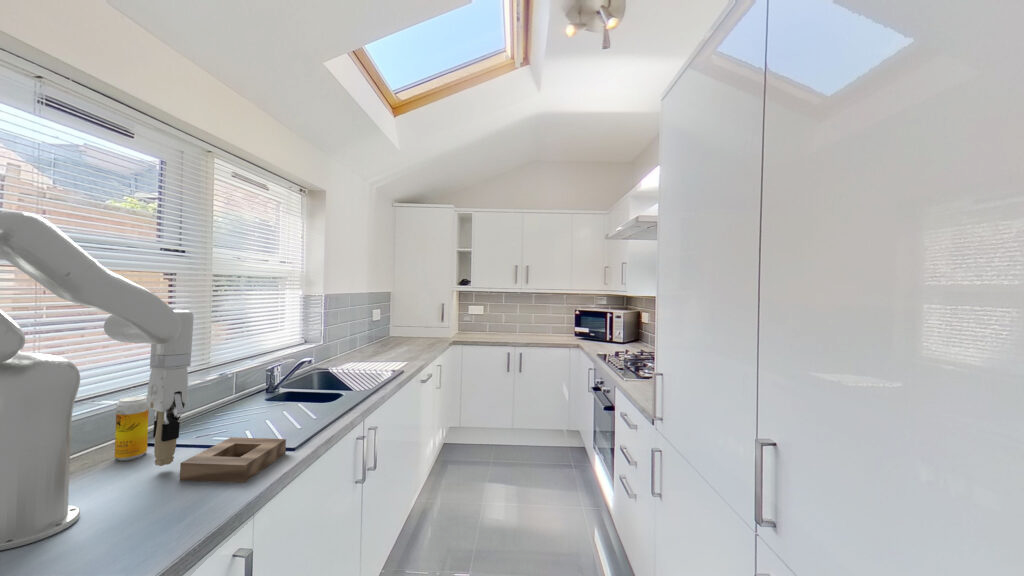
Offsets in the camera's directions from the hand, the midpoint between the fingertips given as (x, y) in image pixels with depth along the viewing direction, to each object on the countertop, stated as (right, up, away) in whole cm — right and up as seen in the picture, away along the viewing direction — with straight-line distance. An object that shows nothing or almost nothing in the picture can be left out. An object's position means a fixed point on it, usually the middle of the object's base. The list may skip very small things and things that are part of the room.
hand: (165, 437), depth 95 cm
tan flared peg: (0, -6, 0) cm, 6 cm away
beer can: (-16, -8, +8) cm, 19 cm away
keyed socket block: (+14, -9, +4) cm, 17 cm away
